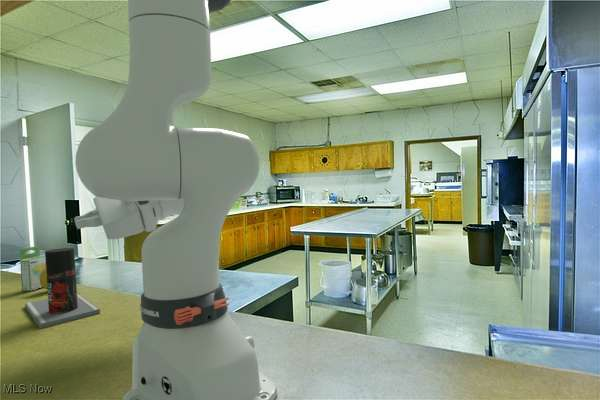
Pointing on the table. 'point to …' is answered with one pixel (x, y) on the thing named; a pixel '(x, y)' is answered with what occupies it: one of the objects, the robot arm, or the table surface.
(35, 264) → the ink box
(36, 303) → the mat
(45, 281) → the lemon
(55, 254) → the deodorant
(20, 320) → the table surface
